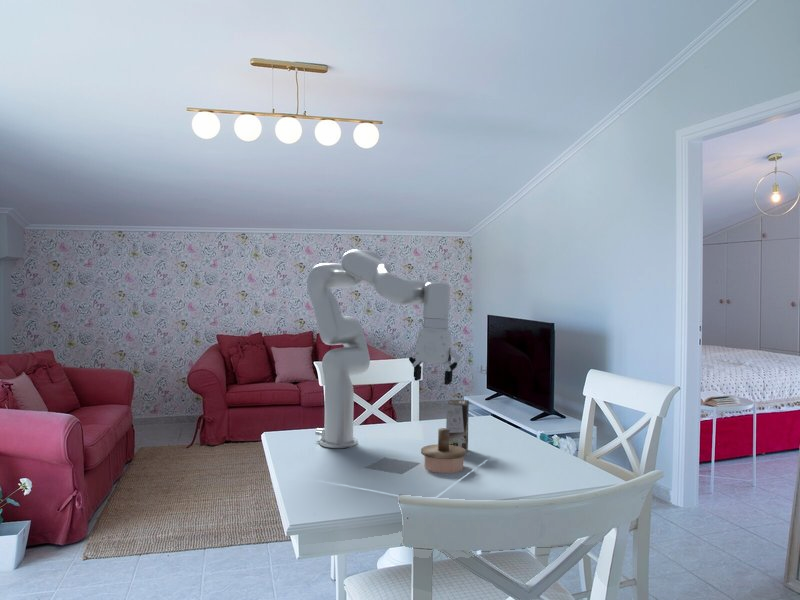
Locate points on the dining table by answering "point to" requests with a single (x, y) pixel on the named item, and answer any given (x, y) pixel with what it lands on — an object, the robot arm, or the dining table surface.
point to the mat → (392, 465)
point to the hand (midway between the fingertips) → (432, 382)
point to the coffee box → (458, 423)
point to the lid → (443, 448)
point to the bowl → (443, 465)
